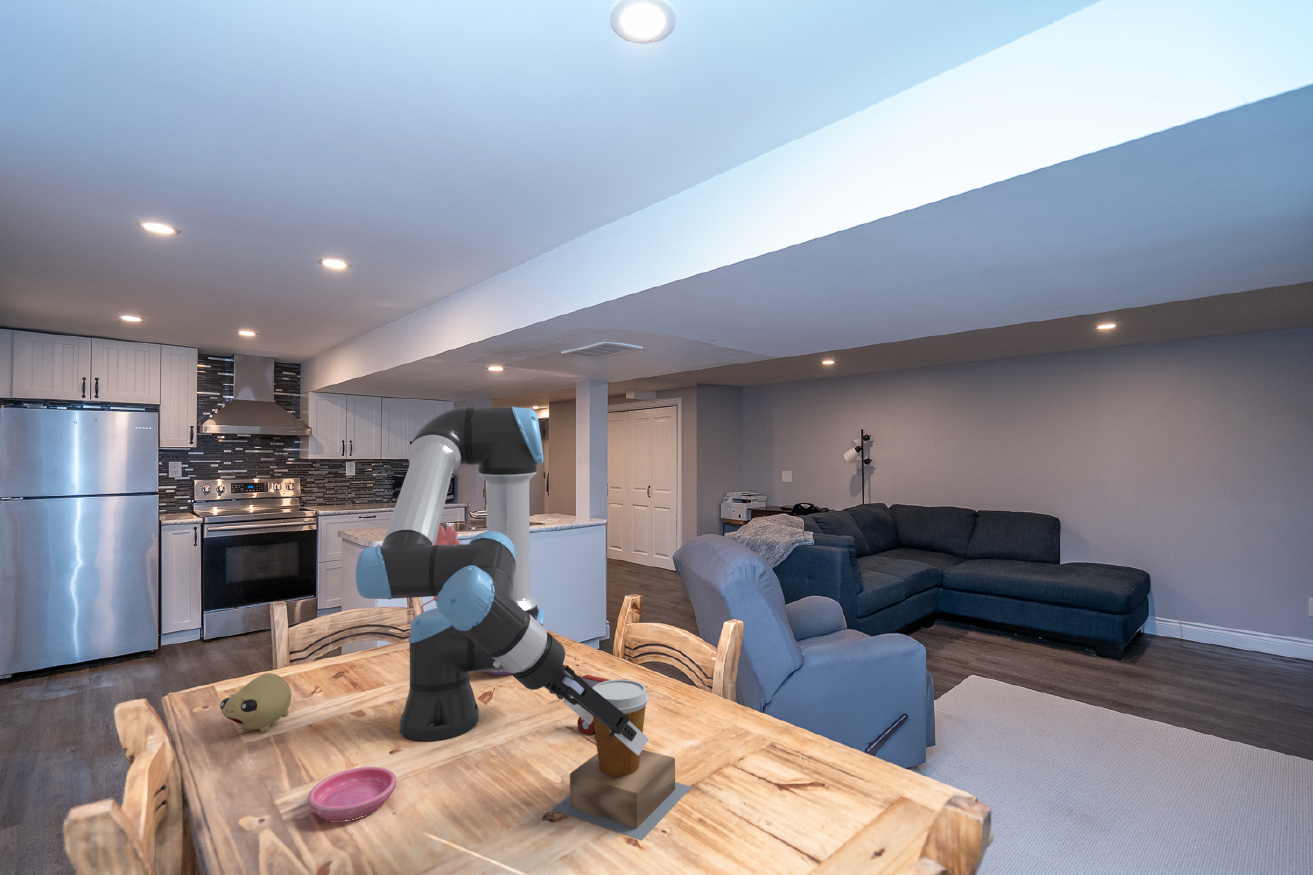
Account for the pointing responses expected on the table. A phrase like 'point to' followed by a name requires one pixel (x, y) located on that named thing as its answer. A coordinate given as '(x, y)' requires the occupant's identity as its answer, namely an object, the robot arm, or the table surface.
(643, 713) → the disposable coffee cup
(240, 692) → the green toy animal
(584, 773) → the pedestal
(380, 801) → the saucer
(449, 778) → the table surface
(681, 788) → the mat
